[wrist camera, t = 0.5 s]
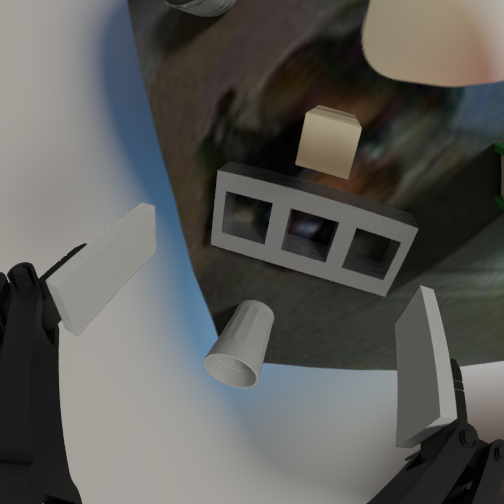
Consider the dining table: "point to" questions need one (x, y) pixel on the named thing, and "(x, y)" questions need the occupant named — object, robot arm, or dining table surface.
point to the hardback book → (500, 199)
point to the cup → (241, 346)
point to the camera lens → (202, 6)
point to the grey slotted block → (302, 250)
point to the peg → (328, 141)
